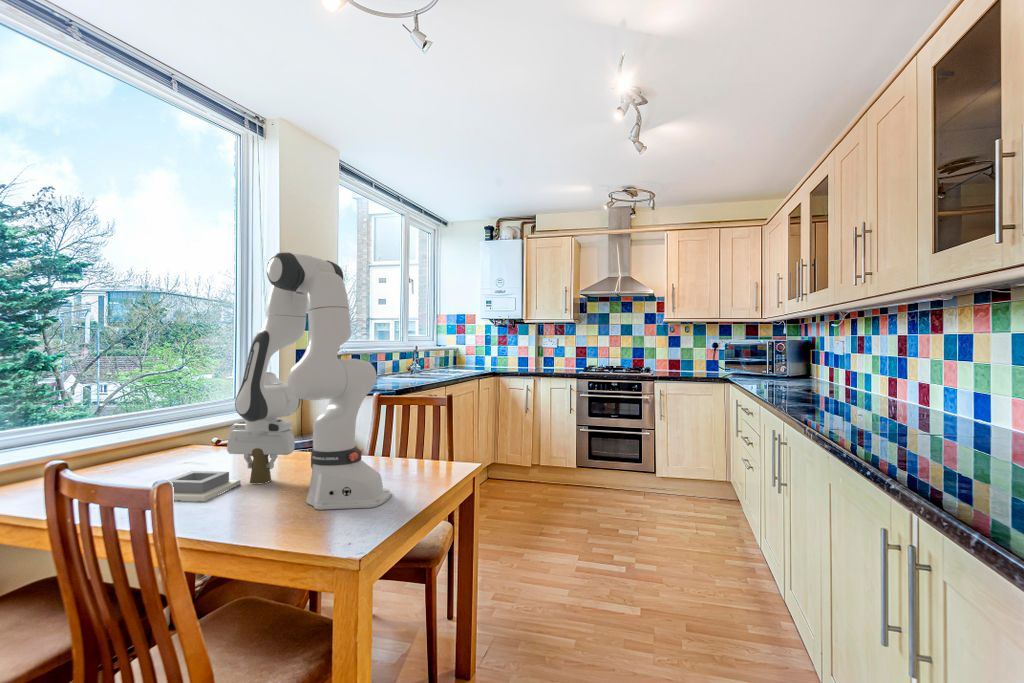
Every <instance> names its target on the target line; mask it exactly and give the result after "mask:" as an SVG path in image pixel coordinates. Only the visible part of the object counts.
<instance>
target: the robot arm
mask: <svg viewBox="0 0 1024 683" xmlns="http://www.w3.org/2000/svg"><path fill="white" fill-rule="evenodd" d="M343 272H344V271H343V269H342V268H341V266H339V264H338V263H334V262H333V261H330V260H325V259H322V258H317V257H313V256H312V255H306V254H298V253H292V252H277V253H275V254H273V255H272V256H271V257H270V259H269V260H268V262H267V266H266V275H267V276H266V277H267V278H268V281H269V283H270V284H271V288H270V291H269V294H268V298H267V305H266V306H267V307H266V315H265V321H264V323H263V325H262V328H261V329H260V331H258V332H257V333H255V335H254V337H253V340H252V342H251V346H250V349H249V352H248V357H247V361H246V365H245V370H244V374H243V378H242V380H241V385H240V388H239V389H238V393H237V395H236V398H235V404H234V407H235V411H236V413H237V414H238V416H239V417H241V418H243V419H244V423H234V424H233V425H231V426H230V427H229V428H228V438H227V446H226V452H227V453H228V454H229V455H243V458H244V460H245V462H246V464H247V469H252V464H253V459H252V457H253V456H252V450H253V449H256V448H259V449H262V451H263V453H264V455H269V458H270V460H269V463H266V466H267V467H266V468H267V469H270V470H272V469H274V467H275V462H276V461H277V459H278V456H288V455H290V454H293V452H295V446H296V445H295V442H296V441H295V435H294V432H293V430H291V429H292V428H293V422H292V421H289V420H286V419H284V418H280V417H281V416H288V415H291V414H294V413H295V412H297V410H298V409H299V407H300V405H301V400H306V401H307V400H308V401H321V400H329V401H328V404H327V406H326V408H325V409H324V411H322V412H321V413H320V414H318V415H317V416H316V417H315V419H314V421H313V424H312V448H311V451H310V467H311V477H310V482H309V484H310V485H309V489H308V493H307V496H306V499H305V502H306V504H308V505H311V506H313V508H314V509H315V510H321V511H322V510H338V509H339V510H340V509H341V510H342V509H367V508H370V509H371V508H376V507H379V506H381V505H382V504H384V503H386V502H387V501H388V500H389V499H390V497H391V495H392V492H391V490H390V489H388V488H384V486H383V479H382V477H381V474H380V472H379V471H377V470H376V469H374V468H373V467H371V466H370V465H368V464H367V463H366V462H365V461H363V460H362V454H363V453H364V448H362V449H359V448H358V447H357V446H356V425H357V417H358V414H359V410H360V409H361V405H362V404H363V402H364V399H365V398H366V397H367V395H368V394H369V393H371V391H373V389H374V388H375V386H376V383H377V379H378V376H377V371H376V368H375V366H374V365H373V364H372V363H371V362H370V361H366V360H363V359H359V358H338V354H339V350H340V347H341V346H342V345H344V344H345V343H347V342H348V340H350V339H351V335H352V326H351V316H350V314H351V313H350V307H349V306H350V305H349V299H348V292H347V289H346V286H345V282H344V273H343ZM307 316H308V317H307ZM307 318H308V320H307ZM307 321H308V341H307V345H306V349H305V351H304V353H303V355H302V357H301V358H300V359H299V361H297V362H296V363H295V364H294V365H293V366H292V367H291V369H290V370H289V372H288V375H287V382H284V381H282V380H280V378H278V377H277V375H276V374H275V373H273V372H267V370H268V366H269V362H270V360H271V358H272V357H273V355H274V354H275V353H276V352H278V351H280V350H282V349H284V348H285V347H286V348H287V347H288V346H290V345H293V344H294V343H296V342H298V341H299V340H300V339H301V338H302V337H303V336H304V333H305V330H306V323H307Z"/></svg>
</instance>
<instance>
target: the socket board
mask: <svg viewBox="0 0 1024 683" xmlns="http://www.w3.org/2000/svg"><path fill="white" fill-rule="evenodd" d="M168 480H169V481H171V482H172V483H173V487H174V500H175V501H174V502H178V501H177V500H181V501H180V502H197V501H205V502H207V501H209V500H211V499H213V498H215V497H217V496H216V495H218V494H220V493H222V492H224V491H226V490H228V491H230V490H232V489H231V488H233V487H235V486H237V485H239V484H240V485H241V479H230V471H208V470H207V471H205V470H201V471H199V470H191V471H188V472H186V473H183V474H181V475H177V476H175V477H174V476H173V477H172V478H169V479H168ZM240 485H239V486H240ZM237 487H238V486H237ZM235 488H236V487H235ZM229 489H230V490H229ZM233 489H234V488H233ZM226 492H227V491H226ZM224 493H225V492H224ZM222 494H223V493H222ZM220 495H221V494H220ZM214 496H215V497H214ZM218 496H219V495H218ZM212 497H213V498H212ZM210 498H211V499H210ZM208 499H209V500H208ZM206 500H207V501H206Z"/></svg>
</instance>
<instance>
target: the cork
mask: <svg viewBox="0 0 1024 683" xmlns="http://www.w3.org/2000/svg"><path fill="white" fill-rule="evenodd" d="M251 457H252V458H253V459H252V461H253V464H252V468H251V473H250V476H249V477H250V478H249V484H250V483H264V484H266V483H265V482H268V481H270V480H271V481H272V475H271V469H267V468H266V467H267V466H266V463H269V462H270V460H269V457H270V455H264V453H263V451H262V449H259V448H256V449H253V450H252V456H251ZM271 481H270V482H271ZM268 483H269V482H268Z"/></svg>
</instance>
